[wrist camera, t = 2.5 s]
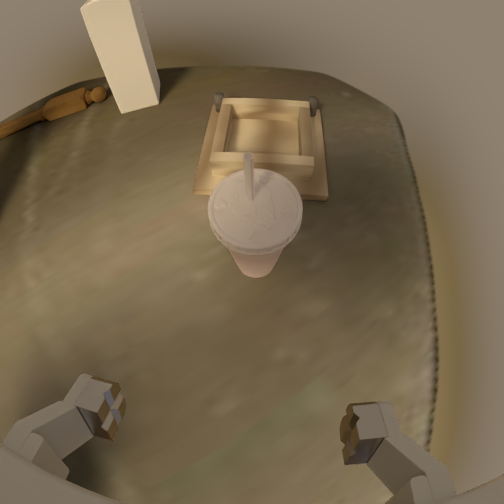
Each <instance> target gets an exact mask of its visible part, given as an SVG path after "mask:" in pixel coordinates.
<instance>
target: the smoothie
mask: <svg viewBox="0 0 504 504" xmlns="http://www.w3.org/2000/svg"><path fill="white" fill-rule="evenodd" d="M243 160H244V170H240V171H237V172H235V173H232V174H231V175H229V176H227V177H226V178H224V179H223V180H222V181H221V182H219V184H218V185H217V186H216V187H215V188H214V190H213V192H212V194H211V196H210V199H209V202H208V216H209V221H210V227H211V229H212V231H213V233H214V234H215V236H216V238H217V239H218V240H219V241H220V242H221V243H222V244H223V245H224V246H226V247H227V248H228V250H229V252H230V254H231V255H232V257H233V259H234V260H235V262H236V264H237V266H238V267H239V269H240V270H241V272H242V273H244V274H245V275H247V276H249V277H254V278H259V277H263V276H265V275H267V274H268V273H270V272H271V271H272V269H273V268H274V266H275V264H276V262H277V260H278V258H279V257H280V255H281V253H282V251H283V249H284V247H285V246H286V245H287V244H288V243H289V242H290V241H291V240H293V239H294V237H295V235H296V234H297V232H298V230H299V229H300V225H301V221H302V212H303V206H302V200H301V197H300V194H299V192H298V190H297V189H296V187H295V186H294V185H293V184H292V183H291V182H290V181H289V180H288V179H287V178H285V177H284V176H282V175H280V174H278V173H276V172H274V171H270V170H266V169H258V168H254V157H253V154H252V153H245V154H244V156H243Z"/></svg>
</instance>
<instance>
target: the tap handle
mask: <svg viewBox="0 0 504 504" xmlns="http://www.w3.org/2000/svg"><path fill="white" fill-rule="evenodd" d="M106 95H107V92H106V90H105V88H104V87H95V88H94V89H93V90H92V92H91V91H88V90H87V89H86V88H85V87H83V88H80V89H77V90H74V91H71V92H68V93H66V94H63V95H60V96H58V97H55V98H53V99H50V100H49V101H48V102H47V103H46V104H45V106H44V107H40V109H39V110H37V111H35V112H32V113H29V114H27V115H24V116H22V117H19V118H17V119H15V120H12V121H10V122H8V123H5V124H3V125H1V126H0V139H3V138H5V137H7V136H9V135H11V134H13V133H15V132H17V131H19V130H21V129H23V128H25V127H27V126H29V125H31V124H33V123H36V122H38V121H40V120H41V121H44V120H46V119H47V120H48V121H52V120H55V119H58V118H61V117H63V116H66V115H69V114H72V113H75V112H79V111H82V110H85V109H87V108H88V106H89V105H90V104H91V103H92V102H93V101H94V102H102V101H103V100H104V99H105V98H106ZM85 100H86V102H87V104H86V102H85ZM88 104H89V105H88Z"/></svg>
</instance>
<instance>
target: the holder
mask: <svg viewBox="0 0 504 504" xmlns="http://www.w3.org/2000/svg"><path fill="white" fill-rule="evenodd" d="M214 99H215V104H213V106H212V110H211V114H210V118H209V122H208V126H207V130H206V134H205V139H204V143H203V147H202V151H201V156H200V160H199V165H198V169H197V174H196V178H195V183H194V188H193V190H194V193H195V194H205V195H211V194H212V192H213V190H214V188H215V187H216V186H217V185H218V184H219V182H221V181H222V180H223V179H224V178H226V177H227V176H229V175H231V174H232V173H235V172H237V171H240V170H244V160H243V156H244V154H245V153H252V154H253V157H254V168H258V169H266V170H270V171H274V172H276V173H278V174H280V175H282V176H284V177H285V178H287V179H288V180H289V181H290V182H291V183H292V184H293V185H294V186H295V187H296V189H297V190H298V192H299V194H300V197H301V199H306V200H319V201H327V198H328V184H327V172H326V161H325V151H324V141H323V132H322V124H321V116H320V109H317V106H318V98H316V97H309V101H308V102H306V101H294V100H279V99H258V98H224V94H223V93H216V94H215V95H214Z"/></svg>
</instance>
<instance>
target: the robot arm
mask: <svg viewBox="0 0 504 504" xmlns="http://www.w3.org/2000/svg"><path fill="white" fill-rule="evenodd" d="M120 390H121V388H120V386H119V383H116V382H112V381H109V380H105V379H101V378H98V377H95V376H91V375H88V374H84V373H83V374H81V375H80V376H79V377H78V378H77V380H76V381H75V383H74V384H73V386H72V387H71V389H70V390H69V392H68V394H67V395H66V397H65V398H64V400H63V401H58V402H56V403H54V404H52V405H50V406H48V407H45V408H43V409H41V410H39V411H37V412H35V413H33V414H31V415H29V416H27V417H25V418H23V419H21V420H19V421H17V422H16V423H15V424H14V426H13V427H12V429H11V430H10V432H9V433H8V435H7V436H6V438H5V439H4V441H3V443H2V444H1V443H0V504H127V503H123V502H120V501H117V500H114V499H112V498H109V497H106V496H103V495H100V494H98V493H95V492H93V491H90V490H88V489H85V488H83V487H80V486H78V485H76V484H73V483H71V482H69V481H67V480H66V478H67V476H68V473H69V469H68V467H67V466H66V465H65V464H64V463H63V461H62V459H63V458H65V457H66V456H67V455H69V454H70V453H72V452H73V451H74V450H76V449H77V448H78V447H80V446H81V445H83V444H84V443H85V442H87V441H88V440H89V439H91V438H92V437H93V435H94V436H97V437H101V438H104V439H107V440H111V441H113V439H114V437H115V434H116V432H117V430H118V425H117V422H119V421H120V420H122V419H123V416H124V414H125V409H126V403H125V399H124V397H123V396H122V395H121V394H120V393H119V392H120ZM346 413H347V415H345V416H344V417H343V418H342V421H341V424H340V439H341V441H342V442H343V443H344V444H345V446H344V448H343V450H342V452H343V458H344V465H353V464H364V463H367V465H368V467H369V468H370V469H371V470H372V471H373V472H374V473H375V475H376V476H377V477H378V478H379V479H380V480H381V481H382V482H383V483H384V485H385V486H386V487H387V488H388V489H389V490H390V491H391V492H392V493H393V494H394V496H393V497H391V498H390V499H389V500H388V501H387V502H386V503H385V504H504V474H503V475H501V476H499V477H497V478H495V479H493V480H491V481H489V482H487V483H485V484H482V485H480V486H478V487H476V488H473V489H471V490H468V491H466V492H464V493H461V494H459V495H456V491H455V488H454V485H453V482H452V479H451V476H450V473H449V470H448V468H447V467H446V466H445V465H444V464H442V463H441V462H440V461H439V460H437V459H436V458H435V457H434V456H432V455H431V454H430V453H428V452H427V451H426V450H425V449H423V448H422V447H421V446H420V445H418V444H417V443H416V442H415V441H413V440H412V439H411V438H410V437H408V436H407V435H402V432H401V429H400V426H399V423H398V420H397V417H396V415H395V412H394V409H393V406H392V403H391V402H390V401H379V402H364V403H350V404H349V405H348V406H347V409H346Z"/></svg>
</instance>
